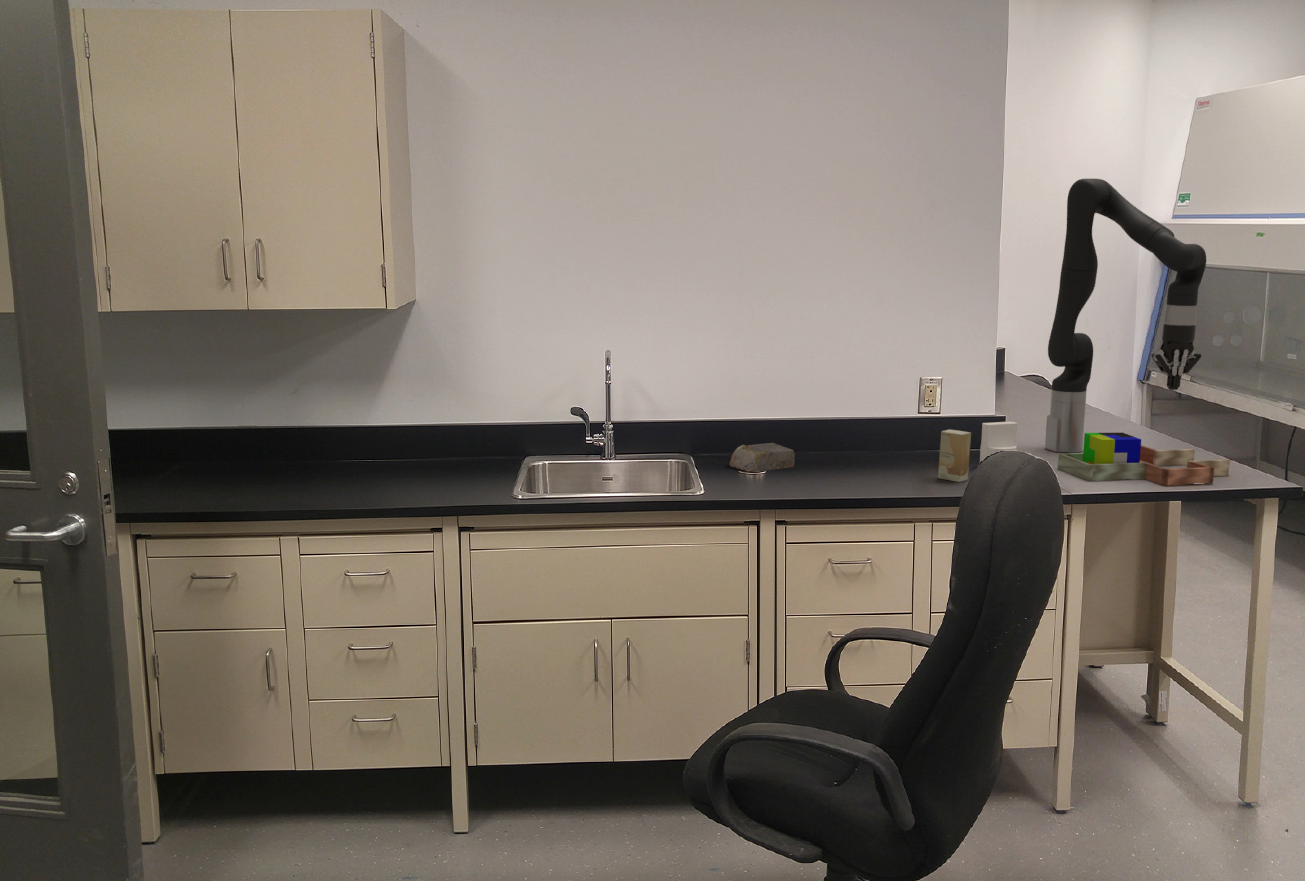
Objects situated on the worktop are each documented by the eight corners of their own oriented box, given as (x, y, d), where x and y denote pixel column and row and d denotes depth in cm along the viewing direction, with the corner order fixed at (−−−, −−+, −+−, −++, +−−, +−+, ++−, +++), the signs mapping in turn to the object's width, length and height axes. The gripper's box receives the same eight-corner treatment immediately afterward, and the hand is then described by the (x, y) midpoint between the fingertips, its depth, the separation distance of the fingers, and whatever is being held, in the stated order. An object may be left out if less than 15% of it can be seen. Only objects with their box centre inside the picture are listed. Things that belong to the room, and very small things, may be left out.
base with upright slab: (992, 472, 277) (994, 426, 275) (972, 465, 285) (975, 421, 283) (1022, 470, 279) (1025, 425, 277) (1002, 463, 288) (1005, 419, 285)
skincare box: (937, 478, 270) (939, 430, 268) (946, 476, 273) (948, 428, 271) (960, 482, 265) (962, 434, 263) (969, 479, 268) (971, 431, 266)
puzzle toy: (1138, 478, 269) (1141, 439, 268) (1099, 479, 269) (1102, 439, 267) (1119, 470, 279) (1122, 432, 277) (1082, 470, 279) (1084, 432, 277)
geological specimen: (797, 449, 285) (751, 451, 277) (796, 471, 286) (749, 474, 278) (774, 441, 294) (728, 444, 286) (772, 463, 295) (726, 466, 287)
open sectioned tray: (1106, 488, 258) (1107, 472, 258) (1042, 462, 289) (1043, 448, 288) (1250, 482, 264) (1251, 466, 263) (1172, 457, 294) (1173, 443, 293)
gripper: (1164, 324, 271) (1157, 392, 274) (1212, 323, 273) (1205, 391, 276) (1147, 321, 278) (1141, 387, 282) (1194, 321, 280) (1187, 386, 283)
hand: (1173, 389), depth 279 cm, fingers closed
